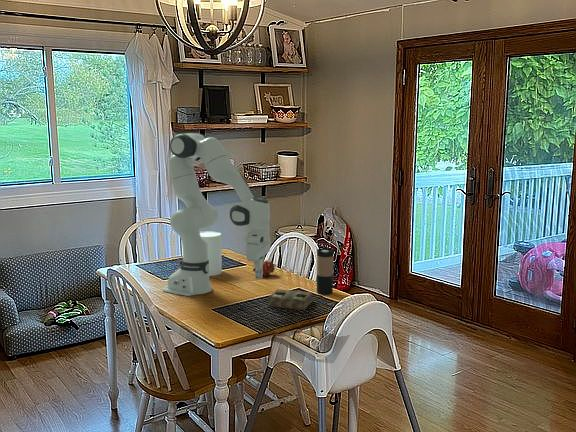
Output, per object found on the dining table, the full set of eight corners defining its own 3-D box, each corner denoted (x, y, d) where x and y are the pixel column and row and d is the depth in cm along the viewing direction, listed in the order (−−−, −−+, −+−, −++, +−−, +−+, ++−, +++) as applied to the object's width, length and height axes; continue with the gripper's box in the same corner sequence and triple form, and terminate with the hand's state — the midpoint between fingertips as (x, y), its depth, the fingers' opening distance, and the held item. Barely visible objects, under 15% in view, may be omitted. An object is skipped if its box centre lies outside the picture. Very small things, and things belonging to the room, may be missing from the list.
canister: (190, 274, 306) (189, 235, 303) (203, 267, 319) (202, 230, 315) (213, 277, 301) (212, 237, 298) (226, 270, 314) (225, 232, 310)
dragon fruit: (277, 277, 306) (254, 283, 302) (270, 265, 312) (248, 270, 307) (278, 267, 300) (256, 273, 296) (272, 254, 305) (250, 260, 301)
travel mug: (324, 289, 282) (324, 247, 278) (336, 292, 276) (337, 250, 273) (312, 292, 276) (313, 249, 273) (325, 296, 271) (325, 252, 268)
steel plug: (254, 278, 262) (254, 256, 260) (256, 276, 265) (256, 254, 263) (260, 279, 261) (261, 256, 259) (263, 277, 264) (263, 255, 262)
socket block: (268, 306, 257) (268, 296, 257) (277, 297, 269) (277, 288, 268) (304, 310, 253) (304, 300, 252) (312, 301, 264) (312, 291, 263)
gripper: (260, 229, 270) (260, 259, 273) (243, 239, 251) (243, 271, 254) (274, 231, 269) (273, 261, 271) (258, 240, 249) (257, 273, 252)
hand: (258, 266), depth 262 cm, fingers closed on steel plug, 3 cm apart
